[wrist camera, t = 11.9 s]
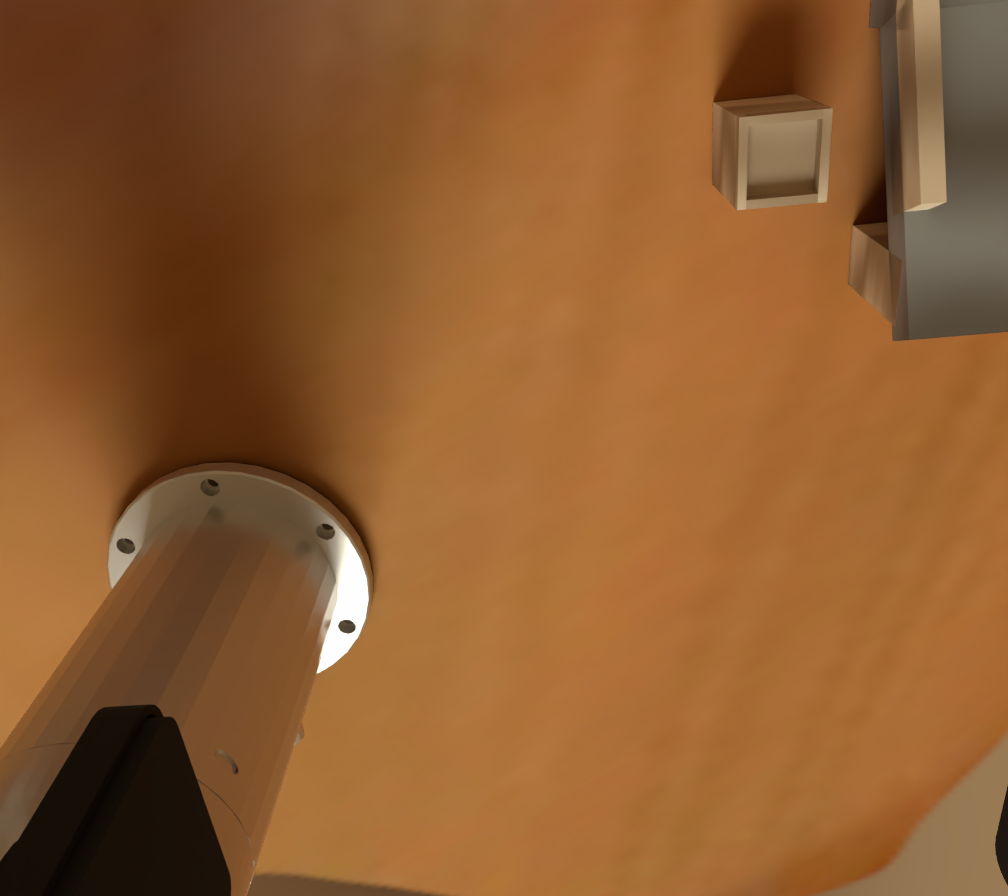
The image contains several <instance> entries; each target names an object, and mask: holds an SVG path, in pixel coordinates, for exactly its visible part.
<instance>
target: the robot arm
mask: <svg viewBox="0 0 1008 896" xmlns="http://www.w3.org/2000/svg"><path fill="white" fill-rule="evenodd" d="M328 524H329V525H328ZM107 570H108V577H109V584H110V587H111V592H110V593H109V594H108V596H107V597H106V599H105V600H104V602H103V603H102V604H101V606H100V607H99V609H98V610H97V611H96V613H95V614H94V616H93V617H92V619H91V620H90V621H89V623H88V624H87V626H86V627H85V629H84V630H83V631H82V633H81V634H80V636H79V637H78V639H77V640H76V641H75V643H74V644H73V646H72V647H71V648H70V650H69V651H68V653H67V654H66V656H65V657H64V658H63V660H62V661H61V663H60V664H59V666H58V667H57V668H56V670H55V671H54V673H53V674H52V676H51V677H50V678H49V680H48V681H47V683H46V684H45V685H44V687H43V688H42V690H41V691H40V693H39V694H38V695H37V697H36V698H35V700H34V701H33V703H32V704H31V705H30V707H29V708H28V710H27V711H26V713H25V714H24V715H23V717H22V718H21V720H20V721H19V722H18V724H17V725H16V727H15V728H14V730H13V731H12V732H11V734H10V735H9V737H8V738H7V740H6V741H5V742H4V744H3V745H2V747H1V748H0V896H247V892H248V889H249V886H250V883H251V881H252V878H253V874H254V871H255V868H256V865H257V862H258V859H259V855H260V852H261V849H262V846H263V843H264V839H265V836H266V833H267V830H268V827H269V824H270V820H271V817H272V814H273V811H274V808H275V804H276V801H277V798H278V795H279V792H280V789H281V785H282V782H283V779H284V776H285V773H286V769H287V766H288V763H289V760H290V757H291V753H292V750H293V747H294V745H296V744H297V743H299V742H300V741H301V740H302V739H303V737H304V729H303V725H302V718H303V715H304V712H305V709H306V706H307V703H308V699H309V696H310V693H311V690H312V687H313V683H314V680H315V677H316V675H317V674H319V673H320V672H322V671H324V670H325V669H327V668H329V667H331V666H332V665H334V664H335V663H336V662H338V661H339V660H340V659H341V658H342V657H343V656H344V655H345V654H346V653H348V652H349V651H350V649H351V648H352V646H353V645H354V644H355V642H356V641H357V639H358V638H359V637H360V635H361V633H362V630H363V628H364V625H365V623H366V621H367V618H368V614H369V610H370V606H371V602H372V595H373V575H372V570H371V565H370V561H369V557H368V554H367V552H366V550H365V547H364V545H363V543H362V541H361V538H360V536H359V535H358V533H357V532H356V531H355V529H354V528H353V526H352V525H351V523H350V522H349V521H348V519H347V518H346V517H345V516H344V515H343V514H342V513H341V512H340V511H339V510H338V509H337V508H336V507H335V506H334V505H333V504H332V503H331V502H330V501H329V500H328V499H326V498H325V497H324V496H322V495H321V494H319V493H318V492H316V491H315V490H314V489H312V488H311V487H309V486H308V485H306V484H304V483H302V482H300V481H298V480H296V479H294V478H292V477H290V476H287V475H285V474H283V473H280V472H277V471H273V470H270V469H267V468H263V467H260V466H255V465H247V464H240V463H233V462H228V463H205V464H200V465H195V466H191V467H186V468H181V469H179V470H177V471H174V472H172V473H170V474H167V475H165V476H163V477H160V478H159V479H157V480H156V481H155V482H153V483H152V484H150V485H149V486H148V487H146V488H145V489H143V490H142V491H141V492H140V493H139V494H138V496H137V497H136V498H135V499H134V500H133V501H132V502H131V503H130V505H129V506H128V507H127V508H126V510H125V511H124V513H123V514H122V516H121V517H120V519H119V520H118V522H117V523H116V525H115V527H114V530H113V532H112V535H111V537H110V540H109V545H108V555H107ZM995 846H996V847H995V848H996V856H997V861H998V864H999V867H1000V870H1001V873H1002V875H1003V877H1004V879H1005V881H1006V883H1007V885H1008V787H1007V791H1006V796H1005V800H1004V804H1003V809H1002V813H1001V818H1000V822H999V826H998V831H997V835H996V843H995Z"/></svg>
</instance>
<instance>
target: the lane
mask: <svg viewBox="0 0 1008 896" xmlns="http://www.w3.org/2000/svg"><path fill="white" fill-rule="evenodd" d="M869 27H873V28H881V29H880V30H879V31H880V55H881V78H882V102H883V125H884V149H885V172H886V196H887V219H888V222H884V223H873V224H862V225H853V230H852V243H851V255H850V268H849V280H848V285H849V286H851V287H852V288H853V289H854V290H855V291H856V292H857V293H858V294H859V295H860V296H862V297H863V298H864V299H865V300H866V301H867V302H868V303H869V304H870V305H871V306H873V307H874V308H875V309H876V310H877V311H878V312H879V313H880V314H881V315H882V316H884V317H885V318H886V319H887V320H888V321H889V322H890V323H891V324H892V337H893V341H900V340H914V339H926V338H938V337H950V336H963V335H975V334H987V333H999V332H1008V0H871V5H870V18H869Z"/></svg>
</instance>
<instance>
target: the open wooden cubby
mask: <svg viewBox="0 0 1008 896" xmlns="http://www.w3.org/2000/svg"><path fill="white" fill-rule="evenodd" d="M832 114H833V108H831V107H829V106H826V105H823V104H821V103H818V102H815V101H812V100H810V99H807V98H804V97H802V96H799V95H796V94H790V95H780V96H770V97H760V98H750V99H741V100H731V101H721V102H713V179H712V185H713V186H714V187H715V188H716V189H717V190H718V191H719V192H720V193H721V194H722V195H723V196H724V197H725V198H726V199H727V200H728V201H729V202H730V203H731V204H732V205H733V206H734V207H735V208H736V209H737V210H745V209H756V208H767V207H777V206H788V205H799V204H809V203H820V202H827V190H828V175H829V160H830V145H831V130H832Z"/></svg>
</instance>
